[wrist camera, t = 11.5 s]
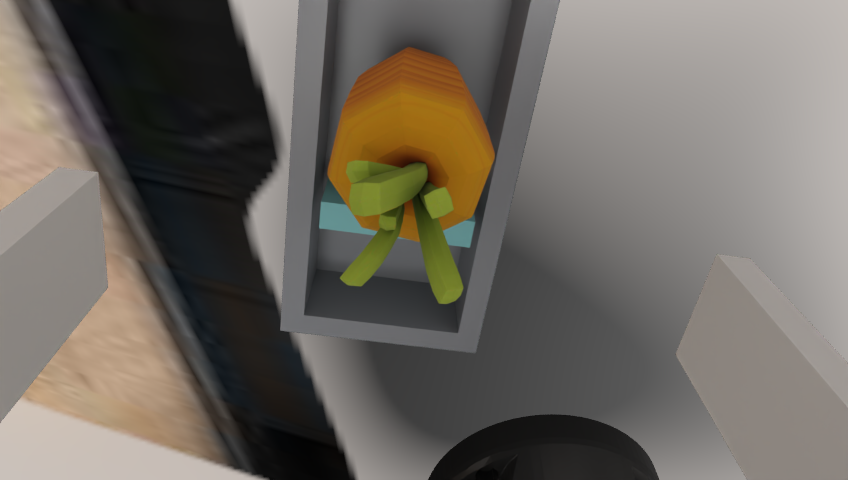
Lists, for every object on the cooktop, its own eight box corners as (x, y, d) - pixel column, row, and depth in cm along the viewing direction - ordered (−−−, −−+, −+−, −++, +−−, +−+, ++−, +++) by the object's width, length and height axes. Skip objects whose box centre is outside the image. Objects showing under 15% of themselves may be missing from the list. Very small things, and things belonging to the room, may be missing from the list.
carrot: (477, 120, 29) (519, 326, 16) (366, 131, 29) (318, 343, 16) (469, 4, 26) (511, 134, 13) (348, 17, 27) (275, 157, 14)
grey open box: (468, 293, 34) (475, 353, 30) (298, 272, 34) (280, 330, 29) (544, -53, 26) (569, -41, 22) (323, -90, 26) (303, -85, 21)
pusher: (463, 202, 30) (469, 247, 27) (331, 184, 30) (318, 228, 26) (467, 178, 30) (475, 221, 26) (333, 160, 29) (321, 201, 26)
